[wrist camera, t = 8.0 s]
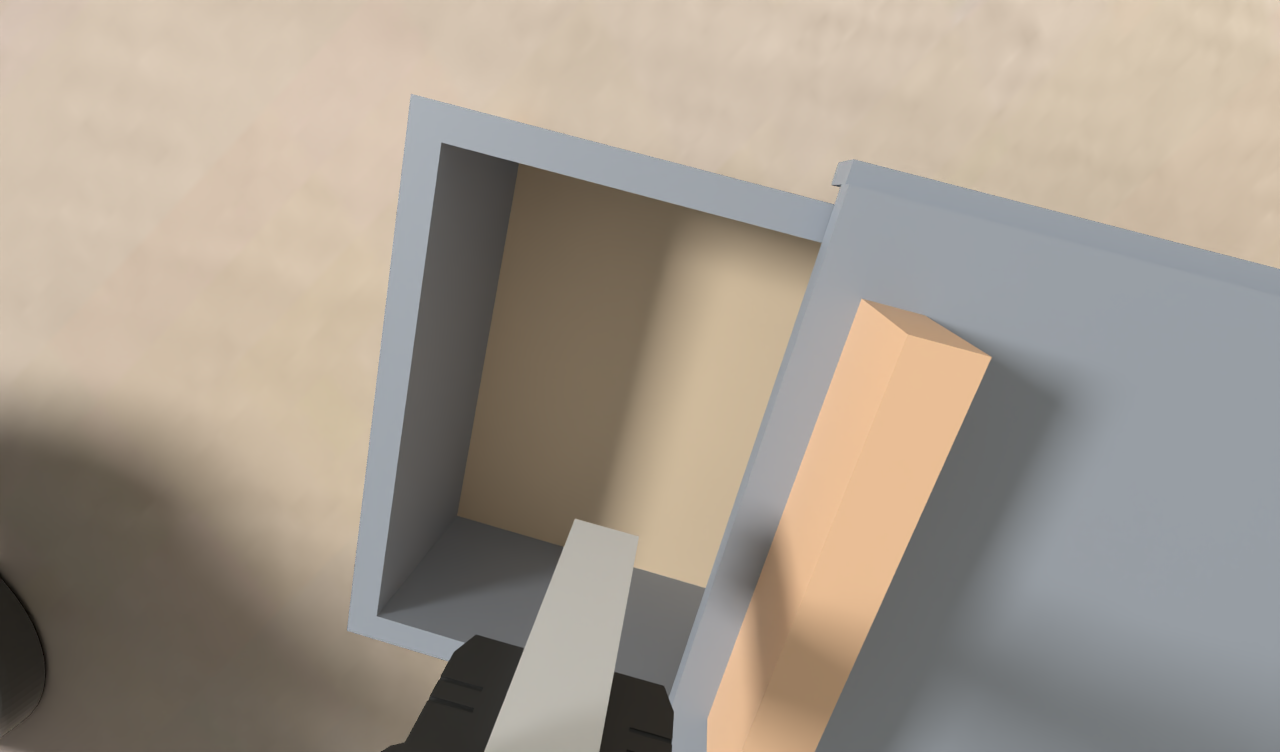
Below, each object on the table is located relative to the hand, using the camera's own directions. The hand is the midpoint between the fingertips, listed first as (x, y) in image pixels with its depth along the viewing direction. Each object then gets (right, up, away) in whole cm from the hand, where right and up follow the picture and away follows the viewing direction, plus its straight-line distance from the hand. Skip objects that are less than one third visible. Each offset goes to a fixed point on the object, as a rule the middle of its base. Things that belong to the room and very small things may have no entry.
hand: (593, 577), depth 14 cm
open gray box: (+2, +4, +12) cm, 13 cm away
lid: (+13, -1, +5) cm, 14 cm away
